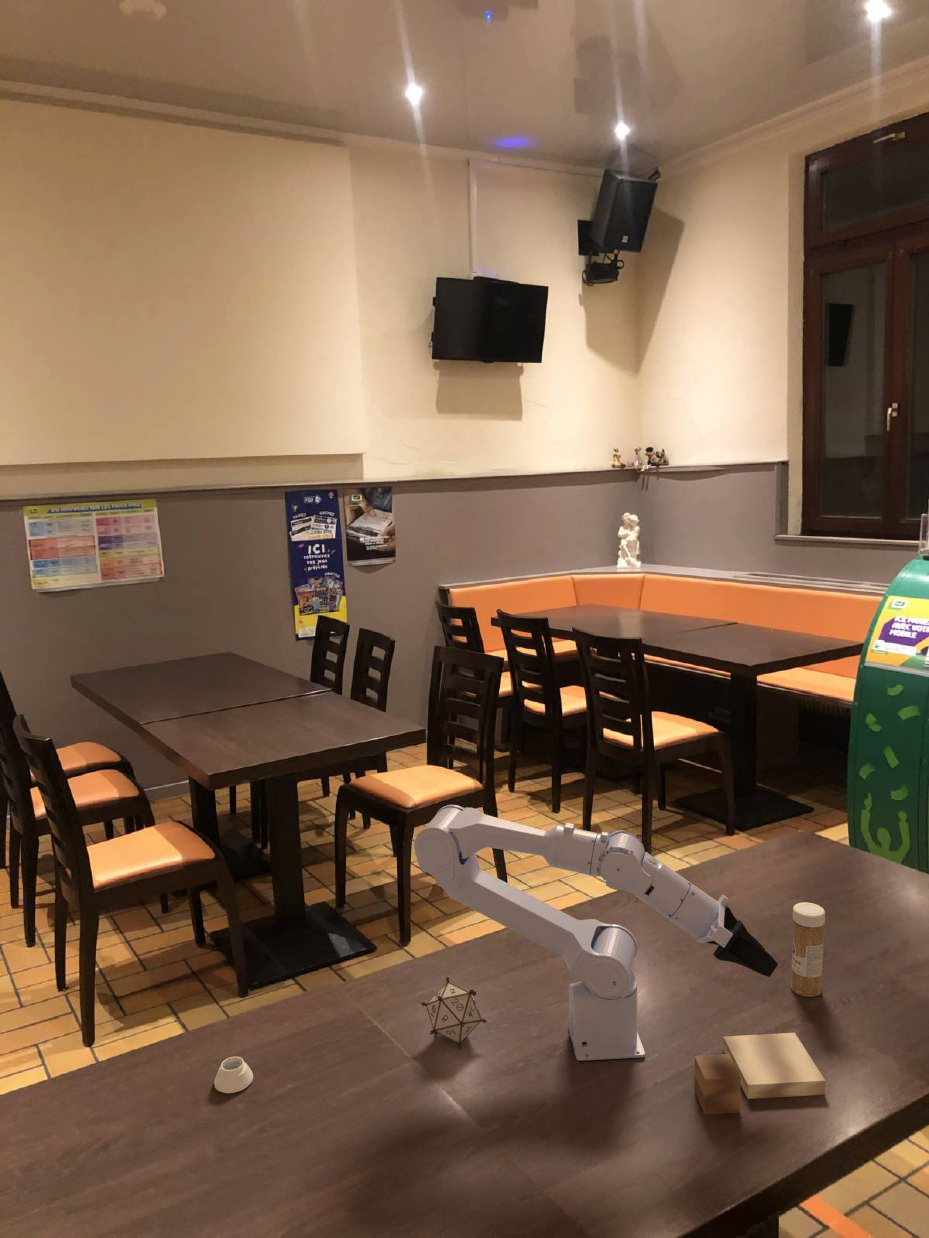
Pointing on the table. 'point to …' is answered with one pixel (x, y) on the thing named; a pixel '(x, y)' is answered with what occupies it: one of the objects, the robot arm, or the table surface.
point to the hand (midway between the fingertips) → (766, 962)
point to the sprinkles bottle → (807, 949)
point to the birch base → (774, 1066)
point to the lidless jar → (233, 1075)
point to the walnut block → (717, 1084)
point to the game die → (453, 1012)
